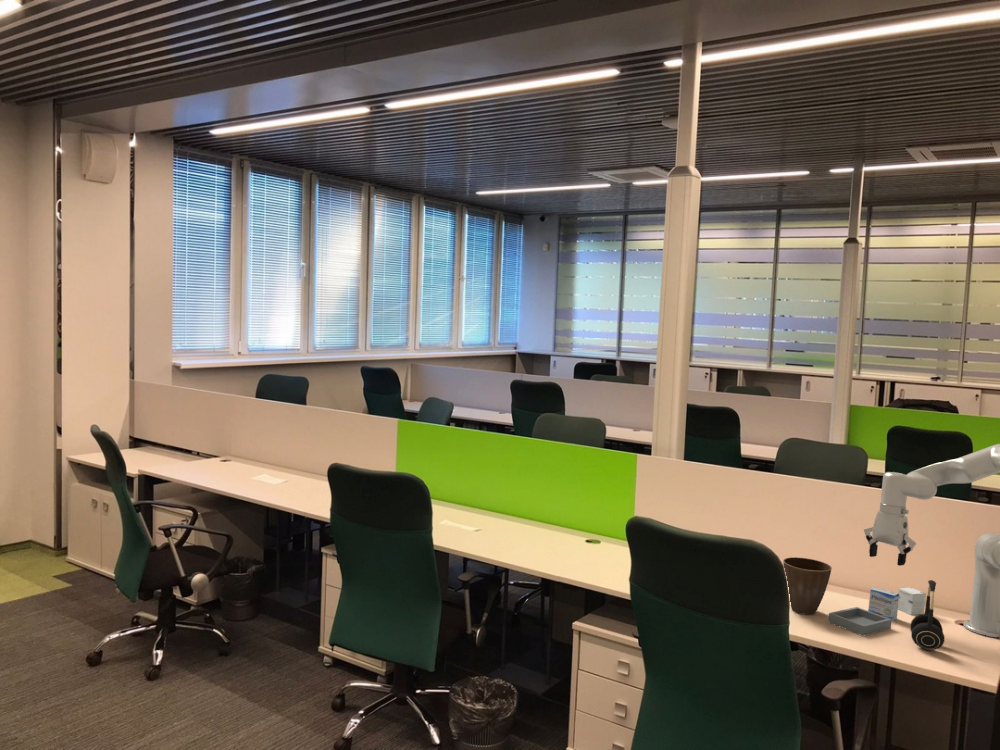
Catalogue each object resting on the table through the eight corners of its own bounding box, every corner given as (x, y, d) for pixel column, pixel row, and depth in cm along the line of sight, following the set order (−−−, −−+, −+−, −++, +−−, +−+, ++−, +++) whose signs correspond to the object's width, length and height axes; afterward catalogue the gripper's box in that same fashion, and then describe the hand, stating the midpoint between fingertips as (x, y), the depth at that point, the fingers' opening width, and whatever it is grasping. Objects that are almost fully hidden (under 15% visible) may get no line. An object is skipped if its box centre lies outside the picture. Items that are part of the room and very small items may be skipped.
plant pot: (802, 621, 244) (806, 572, 243) (769, 604, 258) (773, 558, 257) (837, 617, 250) (841, 569, 249) (803, 601, 263) (807, 556, 263)
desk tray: (890, 628, 242) (891, 619, 242) (863, 635, 234) (863, 626, 234) (855, 615, 253) (856, 606, 252) (828, 622, 245) (829, 612, 244)
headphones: (940, 641, 234) (946, 577, 233) (944, 658, 221) (951, 590, 220) (908, 635, 238) (914, 572, 237) (910, 651, 225) (917, 584, 224)
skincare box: (896, 608, 263) (898, 588, 262) (909, 607, 265) (911, 587, 264) (911, 615, 257) (913, 594, 257) (924, 614, 259) (926, 593, 259)
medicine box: (867, 614, 255) (869, 588, 255) (872, 611, 258) (874, 586, 258) (892, 621, 249) (895, 595, 249) (897, 618, 253) (899, 593, 252)
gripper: (924, 515, 247) (918, 567, 248) (874, 503, 261) (868, 552, 262) (911, 517, 243) (905, 569, 244) (861, 504, 257) (855, 554, 258)
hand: (886, 560), depth 253 cm, fingers open, 9 cm apart
